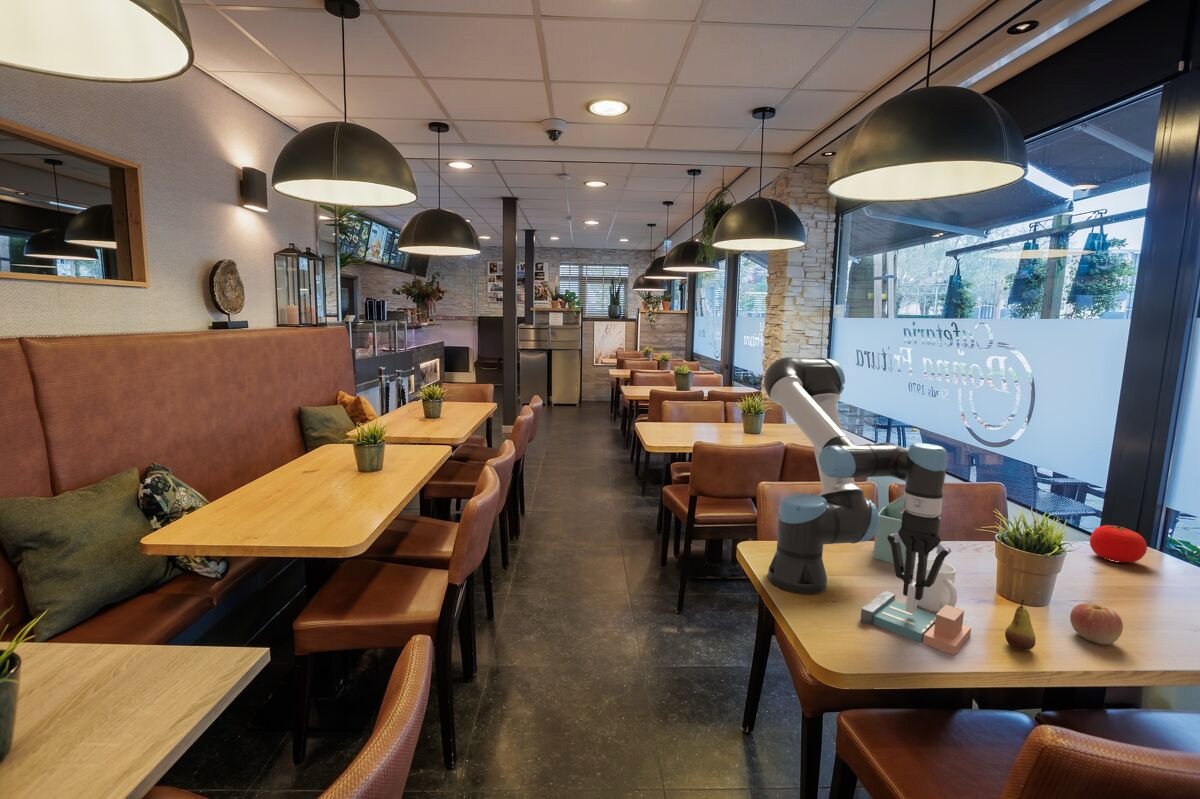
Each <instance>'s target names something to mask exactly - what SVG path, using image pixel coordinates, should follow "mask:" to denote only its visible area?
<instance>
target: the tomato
mask: <svg viewBox="0 0 1200 799" xmlns="http://www.w3.org/2000/svg"><path fill="white" fill-rule="evenodd" d="M1089 536H1090V537H1089V546H1090V547H1091V549H1092V551H1093V552H1094V554H1096V555H1097V556H1098V557H1100V556H1101V557H1100V558H1102V557H1103V558H1102V559H1104V558H1106V559H1110V560H1114V561H1119V562H1130V563H1135V562H1138V561H1139V560H1141V559H1143V557H1144V556H1145V554H1146V553H1147V550H1148V545H1147V542H1146V540H1145V538H1144V536H1142V535H1141V534H1139V533H1138V532H1136V531H1133V530H1131V529H1128V528H1125V526H1120V525H1110V524H1105V525H1101V526H1098V527H1096V528H1095V529H1094V530H1093V531H1092V533H1091V535H1089ZM1106 559H1105V560H1106Z"/></svg>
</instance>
